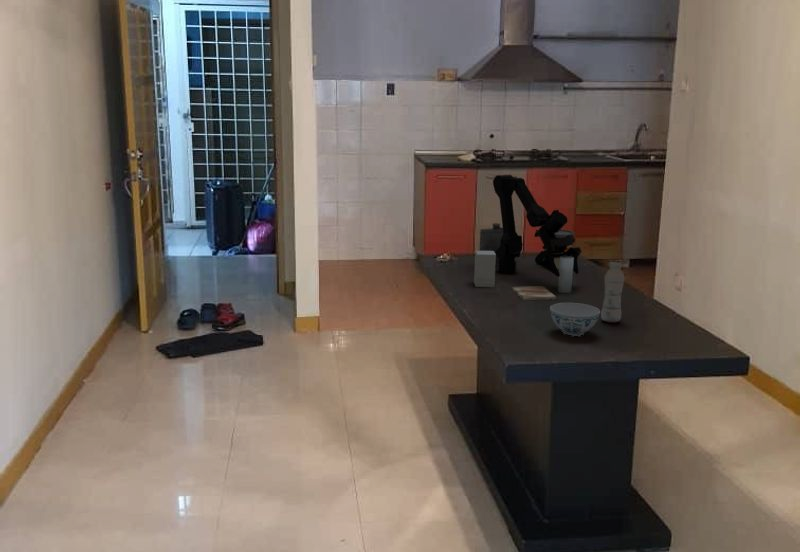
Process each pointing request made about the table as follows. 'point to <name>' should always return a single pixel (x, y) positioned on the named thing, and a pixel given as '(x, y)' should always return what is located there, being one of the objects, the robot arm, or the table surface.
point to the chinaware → (574, 317)
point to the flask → (491, 239)
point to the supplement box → (484, 268)
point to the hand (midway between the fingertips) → (568, 274)
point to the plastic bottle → (613, 292)
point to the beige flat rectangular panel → (534, 293)
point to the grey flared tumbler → (565, 274)
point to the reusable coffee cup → (563, 234)
